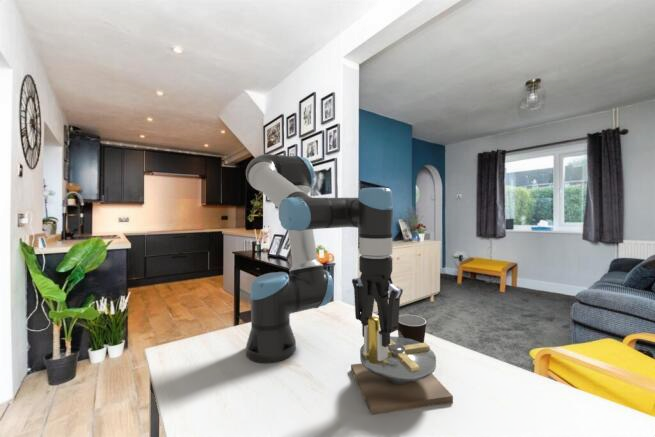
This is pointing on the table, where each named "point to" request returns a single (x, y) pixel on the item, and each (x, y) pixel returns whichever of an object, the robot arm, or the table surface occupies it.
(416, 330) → the coffee mug
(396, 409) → the wheel stand
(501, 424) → the table surface
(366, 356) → the handwheel
